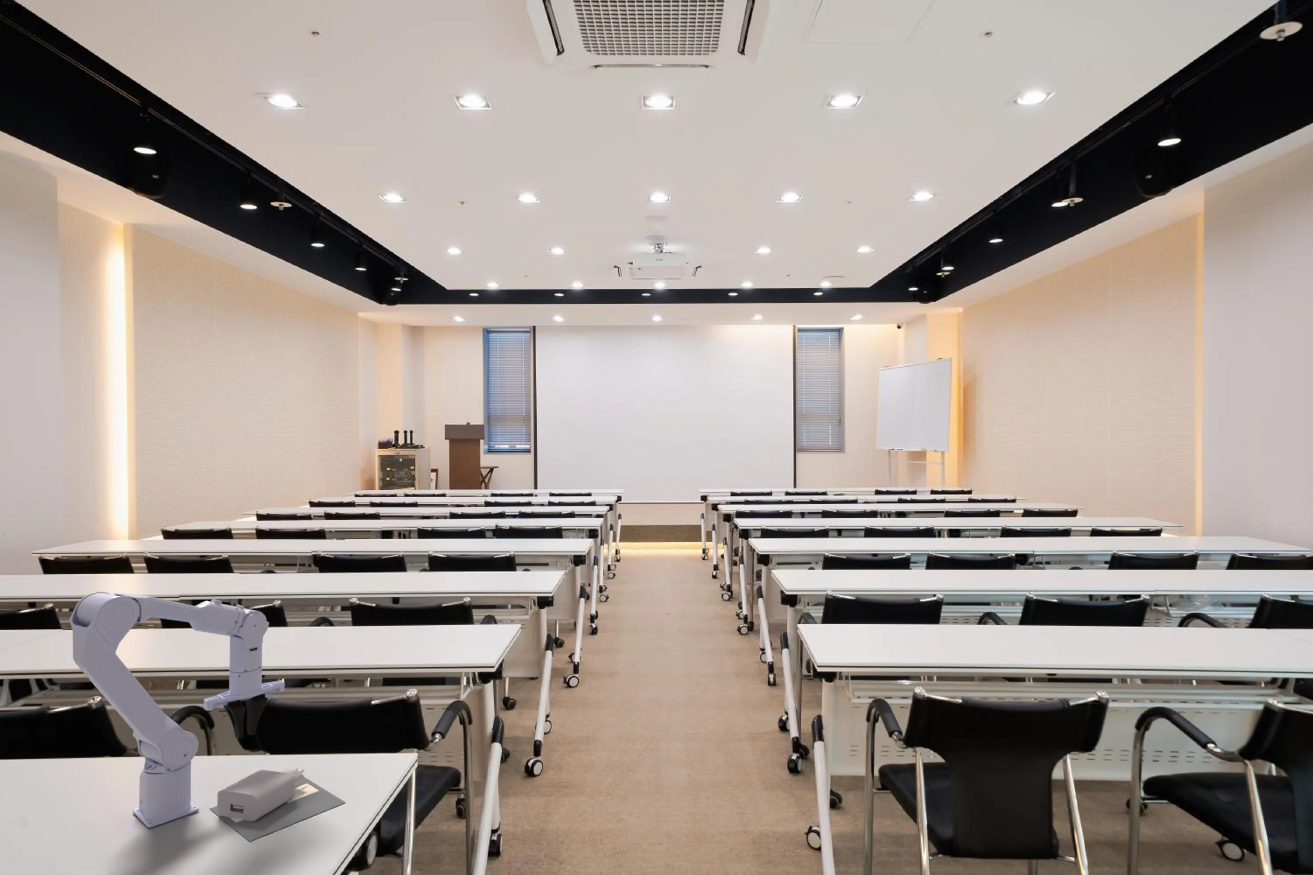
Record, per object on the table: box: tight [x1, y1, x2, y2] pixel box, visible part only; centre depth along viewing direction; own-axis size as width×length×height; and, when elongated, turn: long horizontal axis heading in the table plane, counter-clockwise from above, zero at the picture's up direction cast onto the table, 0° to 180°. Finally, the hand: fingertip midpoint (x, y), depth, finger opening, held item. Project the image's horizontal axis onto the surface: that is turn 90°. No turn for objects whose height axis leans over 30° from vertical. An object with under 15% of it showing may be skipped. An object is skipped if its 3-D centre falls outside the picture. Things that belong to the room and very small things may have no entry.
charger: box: [216, 767, 305, 821], centre depth 134 cm, size 5×9×15 cm
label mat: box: [209, 776, 347, 843], centre depth 132 cm, size 18×17×1 cm
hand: (245, 735), depth 141 cm, fingers closed
